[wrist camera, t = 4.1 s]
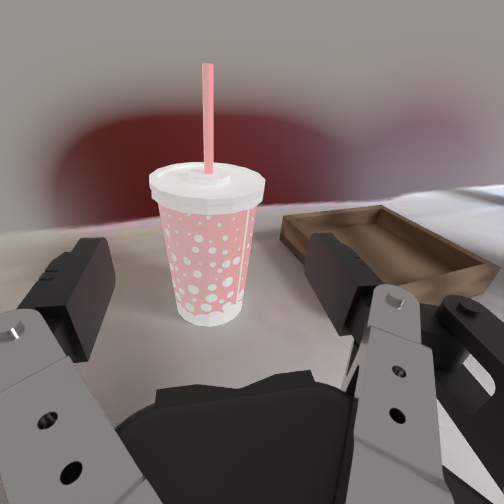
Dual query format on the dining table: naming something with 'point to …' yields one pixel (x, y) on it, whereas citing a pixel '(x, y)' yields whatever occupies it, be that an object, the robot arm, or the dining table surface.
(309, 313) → the dining table surface
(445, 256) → the walnut tray
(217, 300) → the beverage cup
